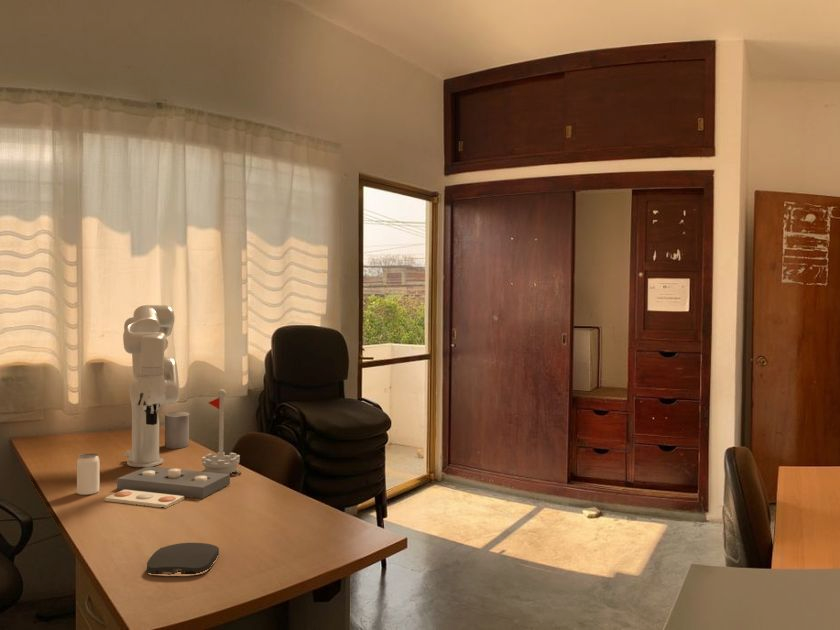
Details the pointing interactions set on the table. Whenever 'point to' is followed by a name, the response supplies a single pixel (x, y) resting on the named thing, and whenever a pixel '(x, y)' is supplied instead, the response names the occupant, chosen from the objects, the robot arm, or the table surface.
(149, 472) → the left button
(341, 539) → the table surface
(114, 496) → the pattern card
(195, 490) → the button panel
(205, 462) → the flag stand
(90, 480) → the can
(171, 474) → the middle button
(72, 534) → the table surface
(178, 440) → the pillar candle
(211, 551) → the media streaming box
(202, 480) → the right button
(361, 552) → the table surface
